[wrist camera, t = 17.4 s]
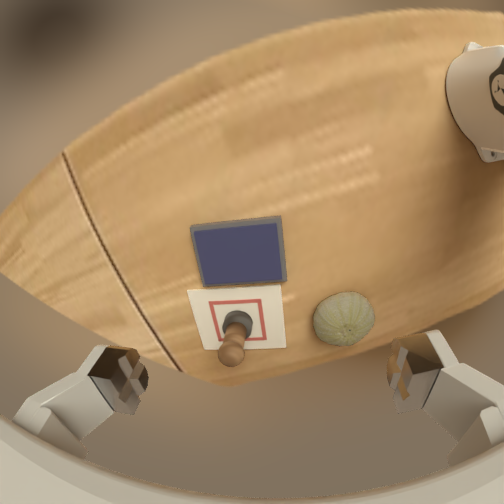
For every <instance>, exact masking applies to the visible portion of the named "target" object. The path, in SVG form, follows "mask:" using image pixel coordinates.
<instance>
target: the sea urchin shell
mask: <svg viewBox="0 0 504 504" xmlns="http://www.w3.org/2000/svg"><path fill="white" fill-rule="evenodd" d="M313 319H314V324H313V327H314V329H315V332H316V335H317V336H318V337H319V338H320V340H322V341H324V342H327V343H328V344H332V345H337V346H350V345H353V344H355V343H356V342H358V341H360V340H361V339H362V338H363V337H364V336H365V335H366V334H368V332H369V331H370V329H371V328H372V327H373V325H374V321H375V315H374V311H373V308H372V306H371V304H370V303H369V302H368V300H367V299H366V298H365V297H364V296H362V295H361V294H359V293H358V292H352V291H350V292H341V293H338V294H336V295H332V296H330V297H328V298H327V299H325V300H323V301H321V303H320V304H319V305H318V306H317V309H316V311H315V313H314V318H313Z"/></svg>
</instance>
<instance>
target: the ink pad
mask: <svg viewBox="0 0 504 504" xmlns="http://www.w3.org/2000/svg"><path fill="white" fill-rule="evenodd" d="M190 232H191V236H192V241H193V245H194V250H195V254H196V259H197V263H198V267H199V272H200V276H201V280H202V284H203V287H204V286H222V285H239V284H254V283H268V282H282V281H287V272H286V261H285V250H284V240H283V230H282V221H281V216H272V217H261V218H251V219H241V220H232V221H223V222H214V223H205V224H196V225H191V226H190Z"/></svg>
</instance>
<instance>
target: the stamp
mask: <svg viewBox="0 0 504 504" xmlns="http://www.w3.org/2000/svg"><path fill="white" fill-rule="evenodd" d="M252 325H253V321H252V318H251V317H250V315H249V314H247V313H246V312H243V311H239V310H235V311H231V312H229V313H228V314H227V315H226V316H225V319H224V323H223V326H222V330H223V332H224V334H225V336H224V340H223V344H222V345H221V346H220V348H219V350H218V358H219V360H220V361H221V363H223V364H224V365H226V366H229V367H234V366H237V365H239V364H240V363H241V362H242V361H243V359H244V354H245V353H244V343H245V339H247V338H248V337H249V336H250V335H251V331H252Z"/></svg>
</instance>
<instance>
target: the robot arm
mask: <svg viewBox="0 0 504 504" xmlns="http://www.w3.org/2000/svg"><path fill="white" fill-rule="evenodd" d="M446 90H447V97H448V102H449V105H450V109H451V111H452V114H453V116H454V118H455V120H456V122H457V124H458V126H459V127H460V129H461V130H462V132H463V133H464V134H465V135H466V136H467V137H468V138H469V139H470V140H471V141H472V142H473V144H474V145H475V147H476V149H477V151H478V153H479V155H480V157H481V159H482V160H483V161H484V162H495V161H499V160H504V46H503V45H496V46H489V47H482V46H480V45H478V44H477V43H475V42H468V43H467V44H466V46H465V48H464V51H463V53H462V54H461V55H460V56H458V57H457V58H456V59H454V60H453V62H452V63H451V65H450V67H449V69H448V72H447V78H446ZM491 152H492V155H491ZM391 350H392V352H393V354H392V355H391V356H390V357H389V358H388V363H387V379H388V382H389V386H390V387H391V388H392V389H394V390H395V393H394V396H393V399H394V402H395V406H396V409H397V413H398V414H399V413H403V412H409V411H413V410H418V409H422V408H423V411H424V412H425V413H427V414H428V415H429V416H430V417H431V418H432V419H433V420H434V421H435V422H437V423H438V424H439V425H440V426H441V427H442V428H443V429H444V430H445V431H447V432H448V433H449V434H450V435H451V436H452V437H453V438H454V439H455V440H457V441H458V443H457V444H456V445H455V446H454V448H453V449H452V450H451V451H450V452H449V454H448V455H447V459H448V463H449V467H448V468H445V469H442V470H440V471H437V472H434V473H431V474H428V475H425V476H422V477H418V478H415V479H412V480H408V481H405V482H401V483H397V484H393V485H388V486H384V487H380V488H375V489H370V490H365V491H358V492H352V493H345V494H338V495H329V496H318V497H305V498H250V497H235V496H225V495H216V494H207V493H201V492H194V491H189V490H183V489H178V488H173V487H169V486H164V485H160V484H156V483H152V482H148V481H144V480H140V479H137V478H134V477H130V476H127V475H124V474H121V473H118V472H115V471H112V470H109V469H106V468H104V467H101V466H99V465H96V464H93V463H91V462H88V461H86V460H84V459H85V457H86V455H87V453H88V450H87V448H86V447H85V446H84V445H83V444H82V443H81V442H80V440H82V439H83V438H84V437H85V436H86V435H88V434H89V433H90V432H91V431H92V430H94V429H95V428H96V427H97V426H99V425H100V424H101V423H102V422H103V421H105V420H106V419H107V418H108V417H109V416H111V415H112V414H113V413H114V411H115V412H120V413H125V414H130V415H134V414H135V411H136V409H137V407H138V405H139V403H140V398H139V395H140V394H142V393H143V392H145V390H146V388H147V386H148V378H149V377H148V373H147V370H146V368H145V366H144V365H143V364H142V363H140V362H139V359H140V356H139V354H138V352H137V350H136V349H133V348H127V347H119V346H111V345H110V346H109V345H102V344H99V345H97V346H96V347H95V348H94V349H93V351H92V352H91V353H90V355H89V356H88V357H87V358H86V360H85V361H84V363H83V364H82V365H81V367H80V368H79V369H78V371H77V372H76V373H71V374H70V375H68V376H66V377H64V378H63V379H61V380H59V381H57V382H56V383H54V384H52V385H50V386H49V387H47V388H45V389H43V390H42V391H39V392H38V393H36V394H34V395H33V396H31V397H29V398H27V400H26V401H25V403H24V404H23V405H22V407H21V408H20V410H19V411H18V412H17V414H16V415H15V417H14V418H13V420H12V421H10V420H9V419H7V418H6V417H4V416H3V415H1V414H0V504H504V386H503V385H501V384H500V383H498V382H497V381H495V380H493V379H491V378H489V377H488V376H486V375H484V374H482V373H481V372H479V371H477V370H475V369H474V368H472V367H470V366H468V365H466V364H464V363H460V364H459V362H458V361H457V359H456V357H455V355H454V353H453V352H452V350H451V348H450V347H449V345H448V343H447V342H446V340H445V338H444V337H443V335H442V334H441V332H440V331H439V330H433V331H428V332H424V333H419V334H414V335H408V336H403V337H397V338H394V339H393V341H392V345H391Z"/></svg>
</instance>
